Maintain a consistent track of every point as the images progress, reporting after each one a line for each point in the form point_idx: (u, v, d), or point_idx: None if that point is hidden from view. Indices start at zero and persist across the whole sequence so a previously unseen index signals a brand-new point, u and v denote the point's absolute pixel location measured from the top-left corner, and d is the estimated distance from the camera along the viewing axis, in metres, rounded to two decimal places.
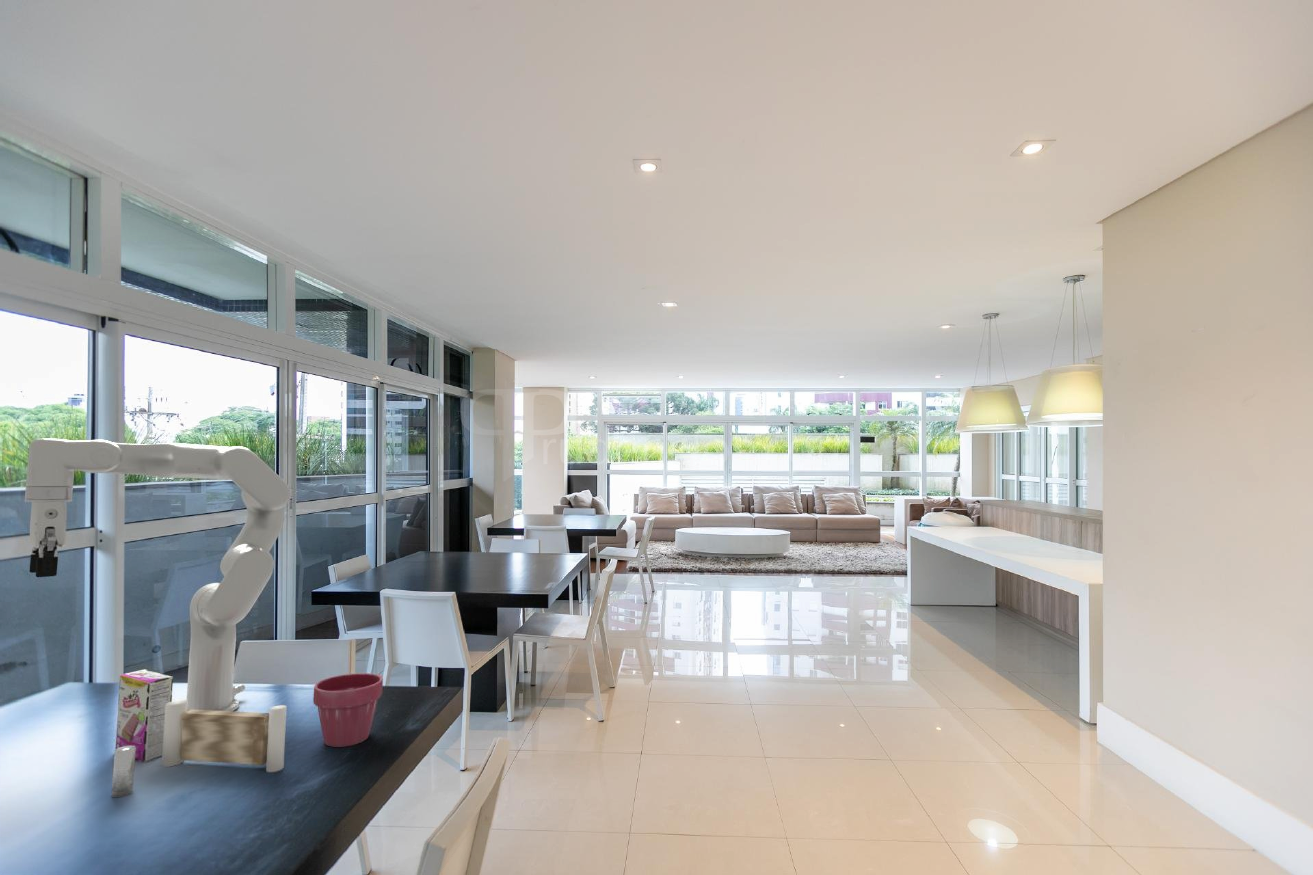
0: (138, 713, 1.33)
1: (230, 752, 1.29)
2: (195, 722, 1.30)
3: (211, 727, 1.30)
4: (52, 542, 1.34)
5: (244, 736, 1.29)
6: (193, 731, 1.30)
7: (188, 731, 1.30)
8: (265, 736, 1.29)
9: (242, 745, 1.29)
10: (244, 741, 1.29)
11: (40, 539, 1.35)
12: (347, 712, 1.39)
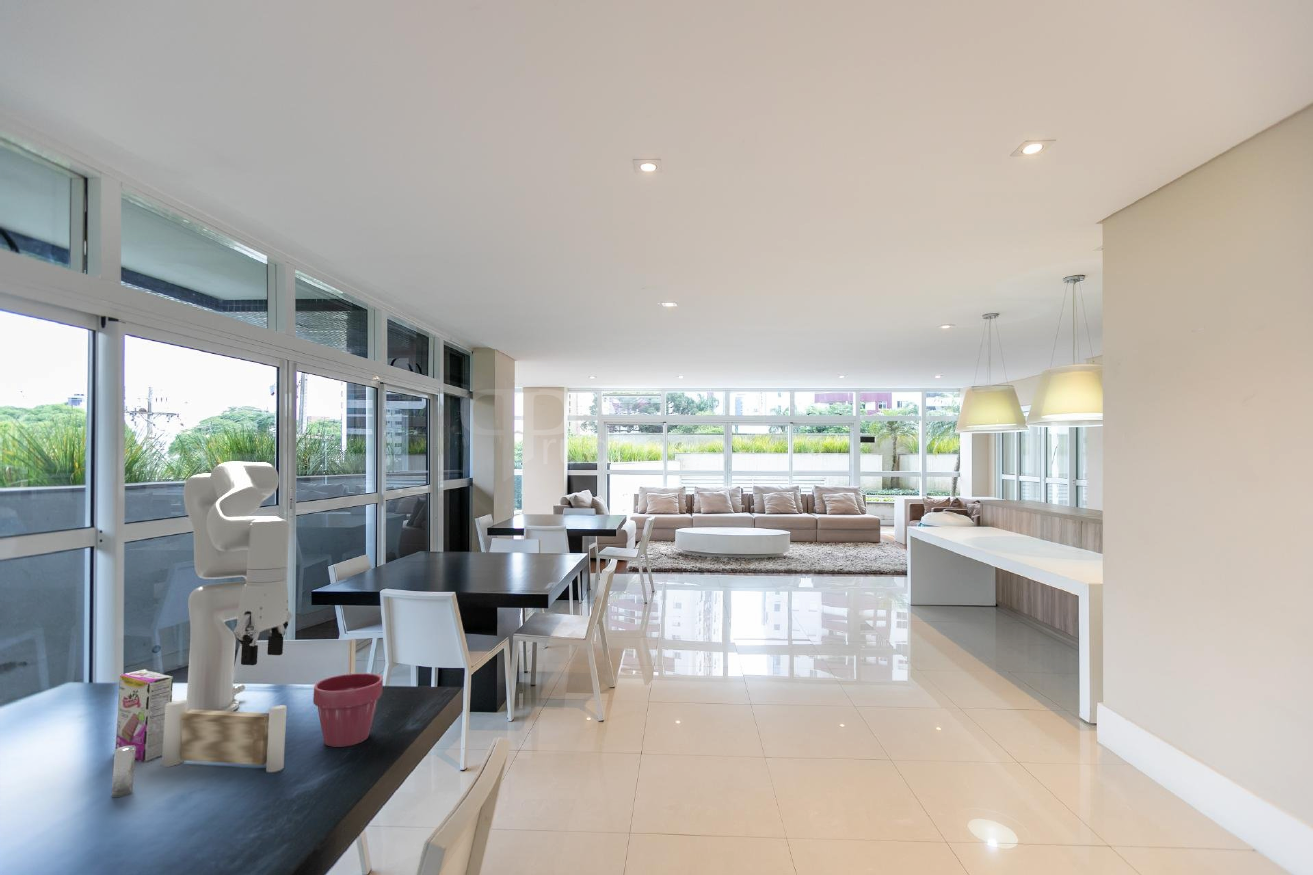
0: (138, 713, 1.33)
1: (230, 752, 1.29)
2: (195, 722, 1.30)
3: (211, 727, 1.30)
4: None
5: (244, 736, 1.29)
6: (193, 731, 1.30)
7: (188, 731, 1.30)
8: (265, 736, 1.29)
9: (242, 745, 1.29)
10: (244, 741, 1.29)
11: None
12: (347, 712, 1.39)
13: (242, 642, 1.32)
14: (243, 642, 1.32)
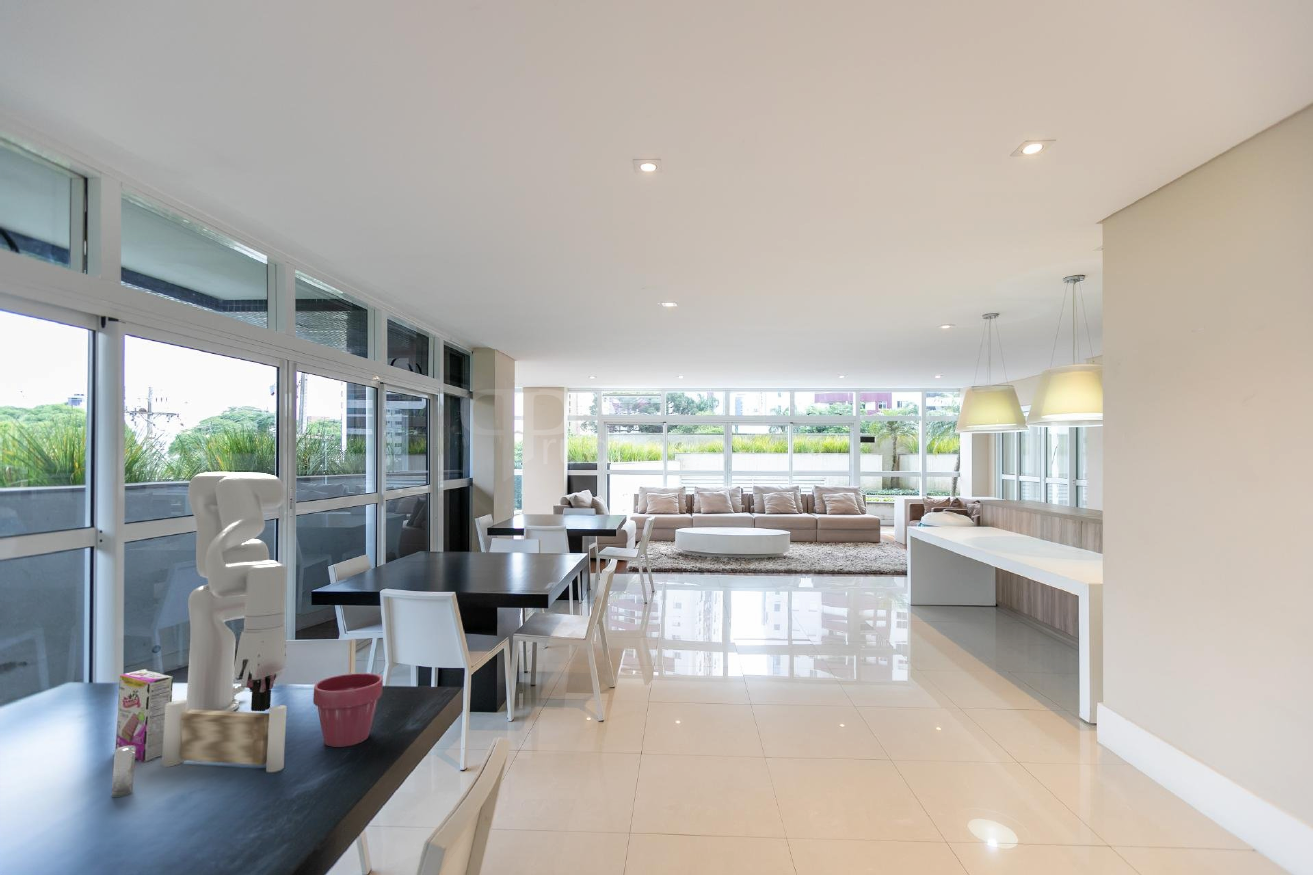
0: (138, 713, 1.33)
1: (230, 752, 1.29)
2: (195, 722, 1.30)
3: (211, 727, 1.30)
4: None
5: (244, 736, 1.29)
6: (193, 731, 1.30)
7: (188, 731, 1.30)
8: (265, 736, 1.29)
9: (242, 745, 1.29)
10: (244, 741, 1.29)
11: None
12: (347, 712, 1.39)
13: (252, 689, 1.34)
14: (253, 689, 1.34)
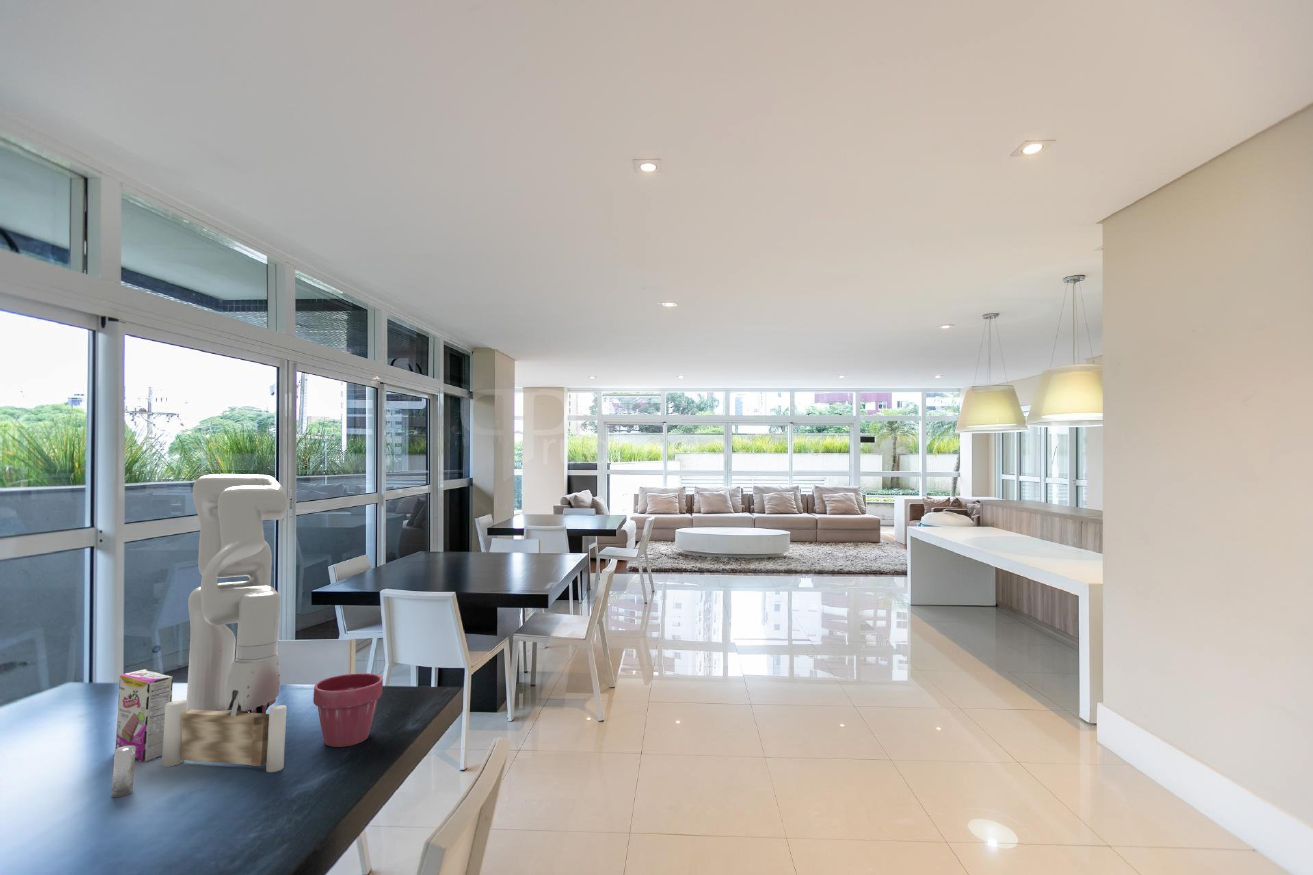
0: (138, 713, 1.33)
1: (229, 753, 1.29)
2: (195, 722, 1.30)
3: (210, 727, 1.30)
4: None
5: (243, 736, 1.29)
6: (192, 731, 1.30)
7: (188, 732, 1.30)
8: (264, 737, 1.29)
9: (241, 745, 1.29)
10: (243, 741, 1.29)
11: None
12: (347, 712, 1.39)
13: None
14: None
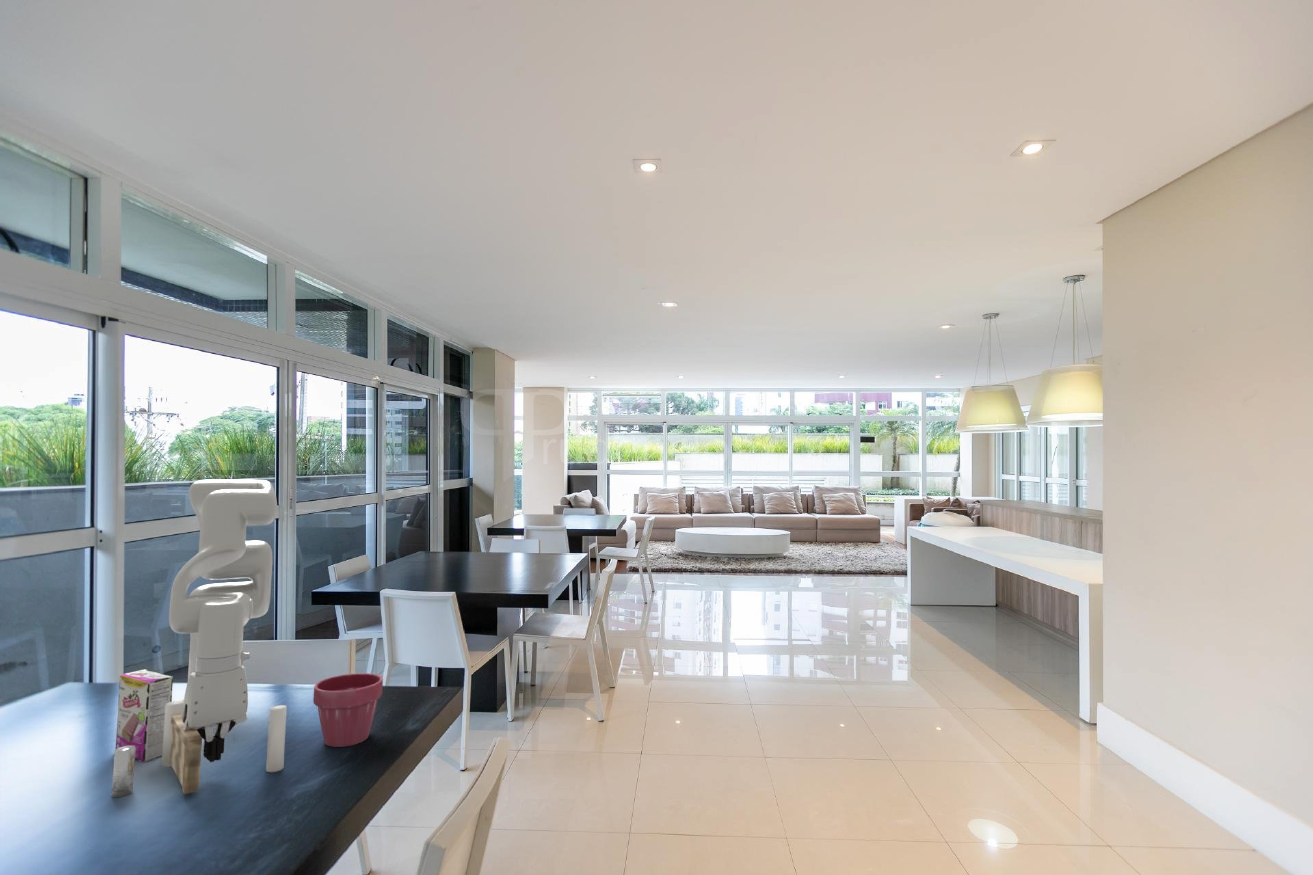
0: (138, 713, 1.33)
1: (180, 769, 1.21)
2: (174, 727, 1.28)
3: (177, 737, 1.25)
4: None
5: (183, 756, 1.20)
6: (173, 736, 1.28)
7: (173, 735, 1.28)
8: (190, 762, 1.17)
9: (182, 765, 1.20)
10: (183, 761, 1.19)
11: None
12: (347, 712, 1.39)
13: None
14: None
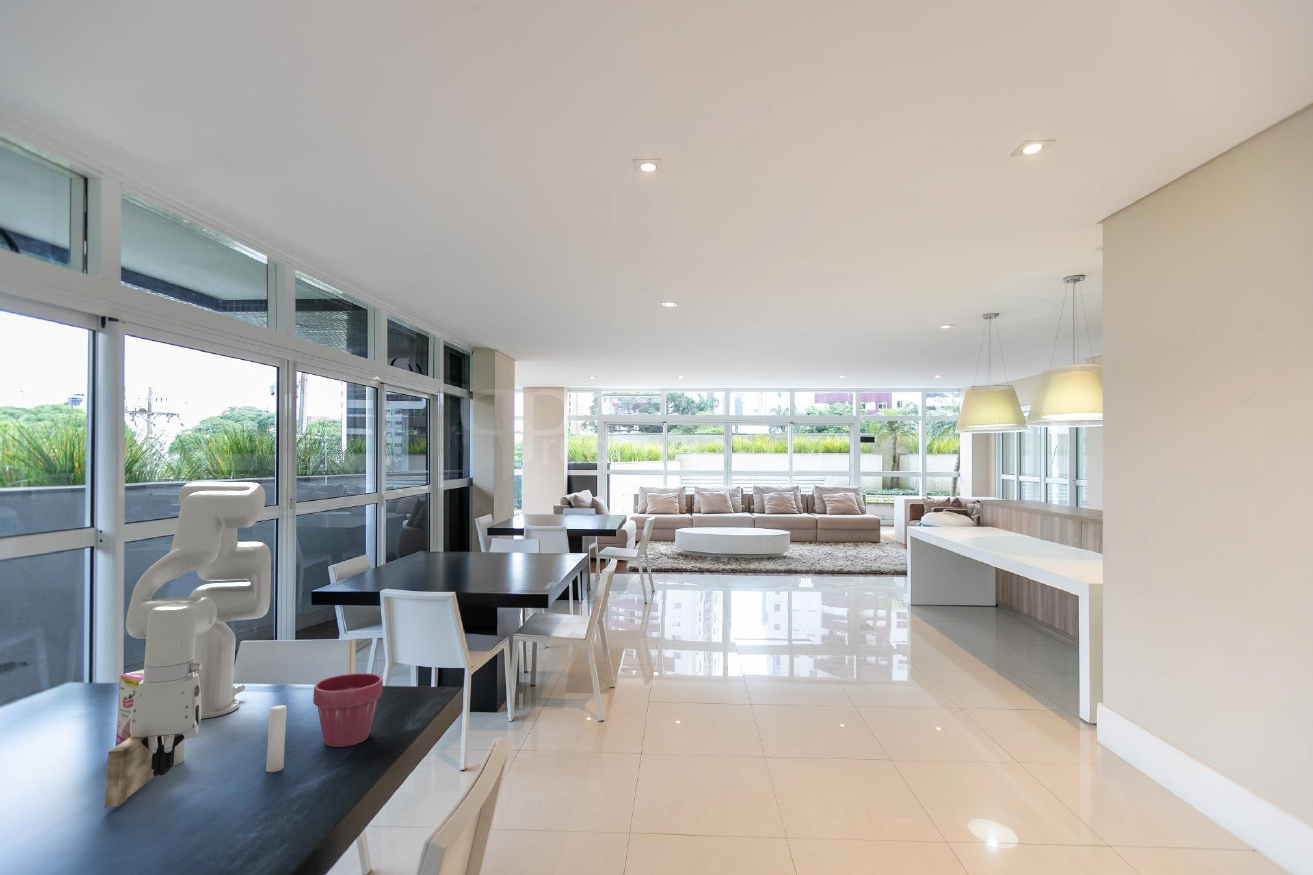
0: None
1: None
2: None
3: None
4: None
5: None
6: None
7: None
8: (111, 774, 1.12)
9: None
10: None
11: (181, 733, 1.19)
12: (347, 712, 1.39)
13: None
14: None
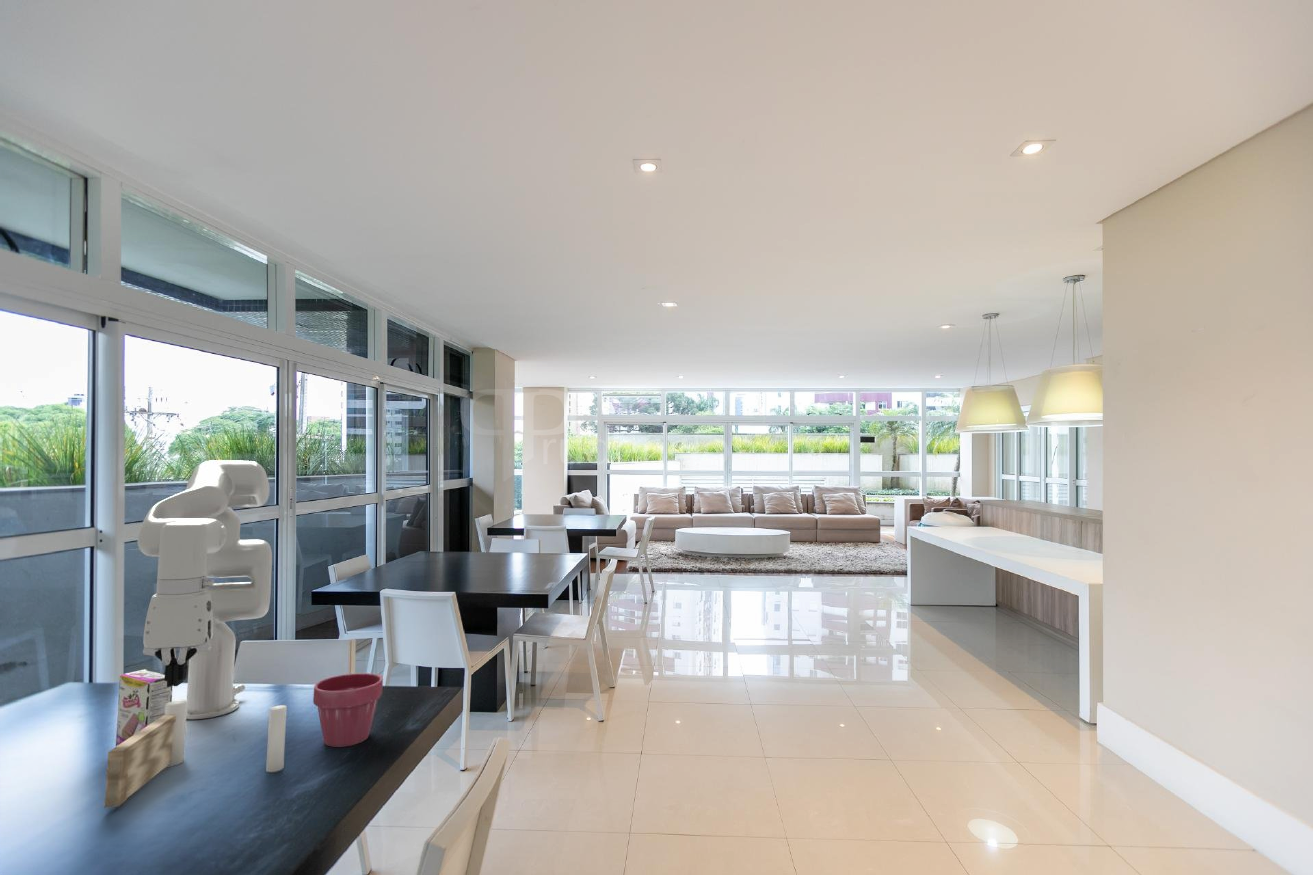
0: (138, 713, 1.33)
1: None
2: None
3: None
4: (205, 650, 1.23)
5: None
6: None
7: None
8: (111, 774, 1.12)
9: None
10: None
11: (194, 646, 1.21)
12: (347, 712, 1.39)
13: None
14: None
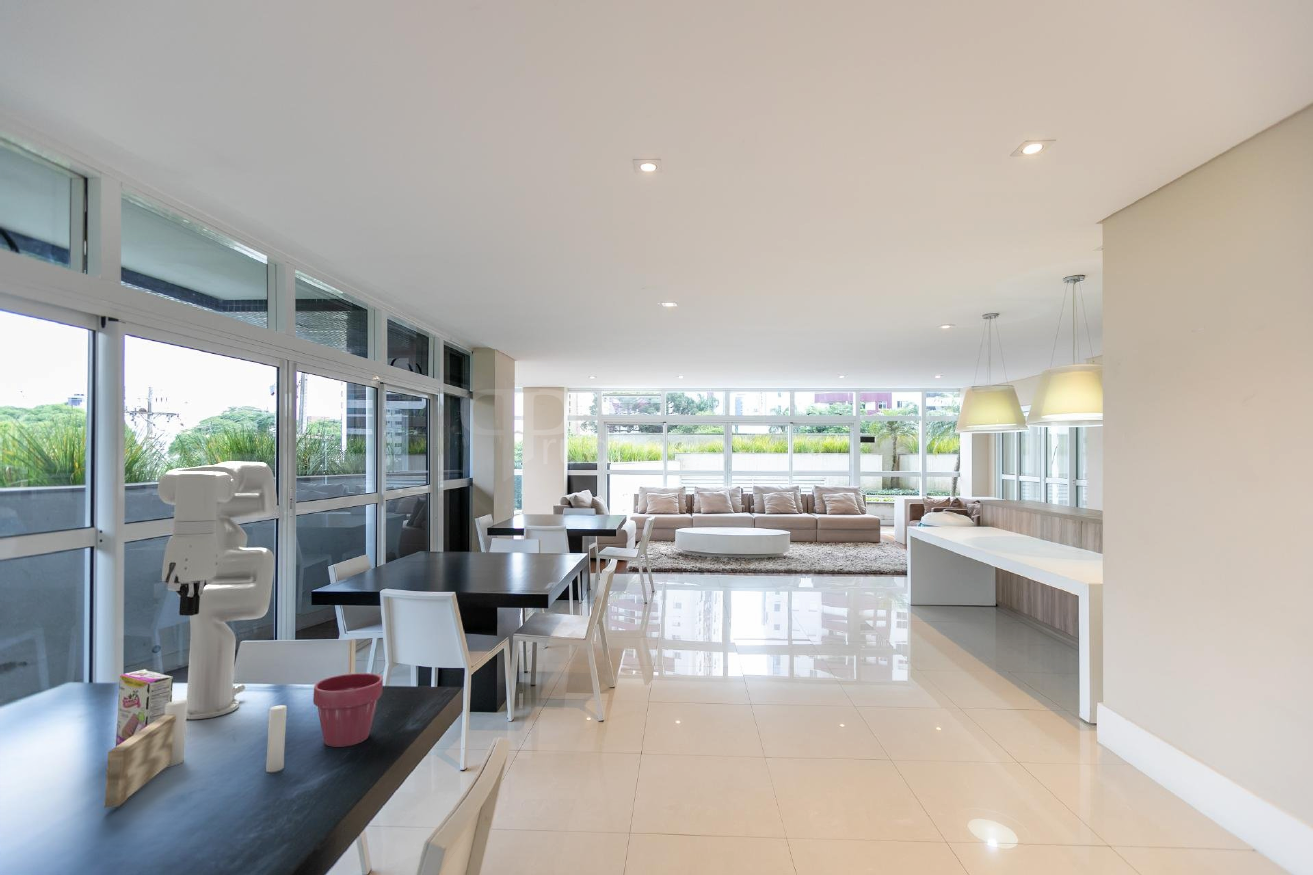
0: (138, 713, 1.33)
1: None
2: None
3: None
4: None
5: None
6: None
7: None
8: (111, 774, 1.12)
9: None
10: None
11: None
12: (347, 712, 1.39)
13: (180, 593, 1.35)
14: (181, 593, 1.35)
